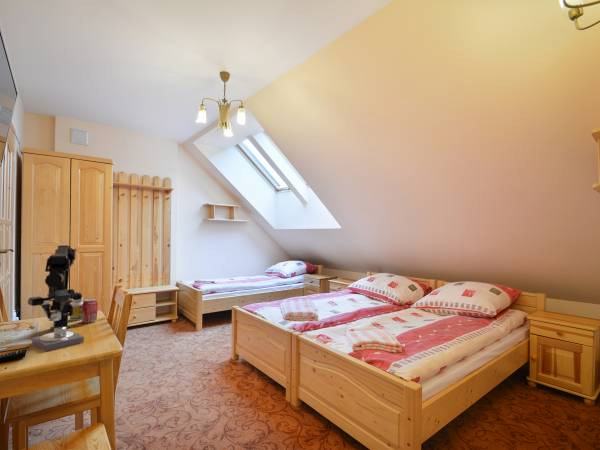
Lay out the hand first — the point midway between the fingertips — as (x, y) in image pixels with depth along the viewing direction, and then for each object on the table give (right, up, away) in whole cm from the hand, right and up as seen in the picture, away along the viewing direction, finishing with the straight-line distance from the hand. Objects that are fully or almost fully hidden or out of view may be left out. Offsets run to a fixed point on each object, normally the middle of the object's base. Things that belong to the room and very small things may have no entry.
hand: (55, 317), depth 141 cm
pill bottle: (-14, -11, +34) cm, 38 cm away
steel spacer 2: (+5, -7, -4) cm, 10 cm away
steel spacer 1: (0, -1, 0) cm, 1 cm away
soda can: (-5, -11, +30) cm, 32 cm away
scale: (+4, -10, -3) cm, 11 cm away
